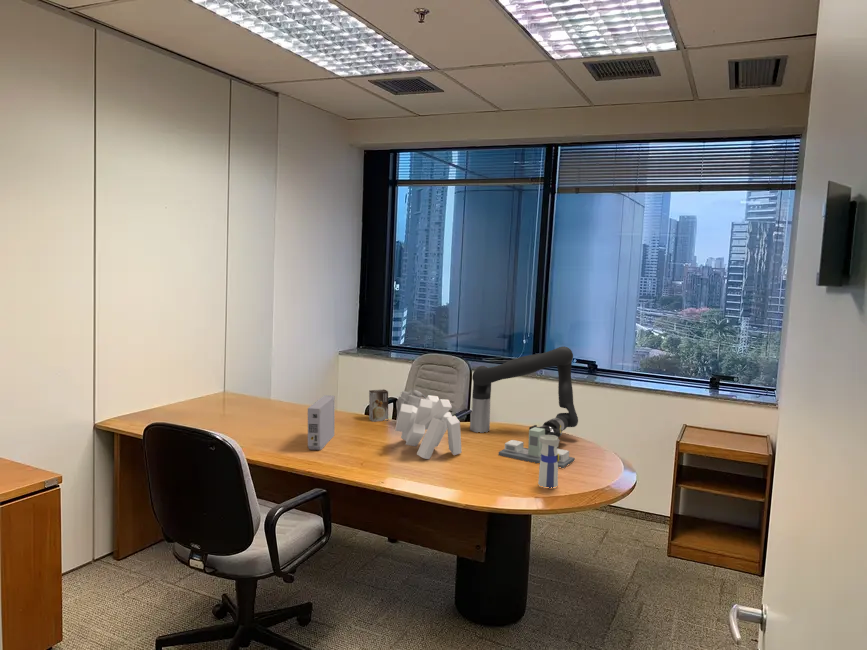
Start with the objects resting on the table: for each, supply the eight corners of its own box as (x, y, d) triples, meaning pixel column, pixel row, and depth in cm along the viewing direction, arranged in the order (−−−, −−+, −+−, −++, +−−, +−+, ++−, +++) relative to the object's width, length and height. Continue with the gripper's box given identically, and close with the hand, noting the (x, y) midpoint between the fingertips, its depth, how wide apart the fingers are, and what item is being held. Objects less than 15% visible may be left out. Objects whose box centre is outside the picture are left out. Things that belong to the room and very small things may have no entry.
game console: (335, 435, 313) (335, 395, 311) (320, 451, 286) (320, 408, 284) (324, 434, 313) (323, 395, 311) (307, 451, 286) (307, 408, 284)
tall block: (527, 454, 281) (528, 430, 280) (533, 450, 286) (534, 427, 285) (538, 456, 278) (539, 432, 277) (544, 452, 283) (545, 429, 282)
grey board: (498, 455, 285) (498, 452, 285) (511, 448, 296) (511, 445, 296) (563, 469, 268) (563, 465, 268) (574, 461, 279) (574, 457, 279)
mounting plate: (503, 450, 287) (503, 449, 287) (510, 447, 293) (510, 445, 293) (563, 463, 271) (563, 461, 271) (569, 459, 277) (570, 457, 277)
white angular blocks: (376, 460, 292) (378, 403, 272) (409, 423, 314) (413, 368, 294) (441, 492, 279) (448, 435, 259) (472, 451, 301) (480, 396, 281)
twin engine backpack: (434, 434, 328) (443, 397, 328) (402, 429, 320) (411, 391, 320) (420, 426, 344) (429, 390, 344) (389, 421, 336) (398, 384, 336)
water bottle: (556, 481, 253) (558, 420, 251) (561, 489, 245) (563, 426, 242) (535, 481, 253) (537, 420, 250) (540, 489, 245) (542, 426, 242)
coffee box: (384, 417, 348) (385, 389, 346) (388, 420, 342) (388, 391, 340) (368, 419, 344) (369, 390, 342) (372, 421, 338) (372, 392, 337)
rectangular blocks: (504, 449, 286) (504, 443, 286) (511, 446, 293) (511, 439, 292) (562, 461, 271) (562, 455, 271) (568, 457, 277) (569, 450, 277)
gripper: (539, 416, 300) (524, 424, 287) (568, 421, 292) (554, 429, 279) (539, 432, 301) (524, 440, 288) (567, 437, 293) (553, 445, 280)
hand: (538, 434), depth 283 cm, fingers open, 8 cm apart
